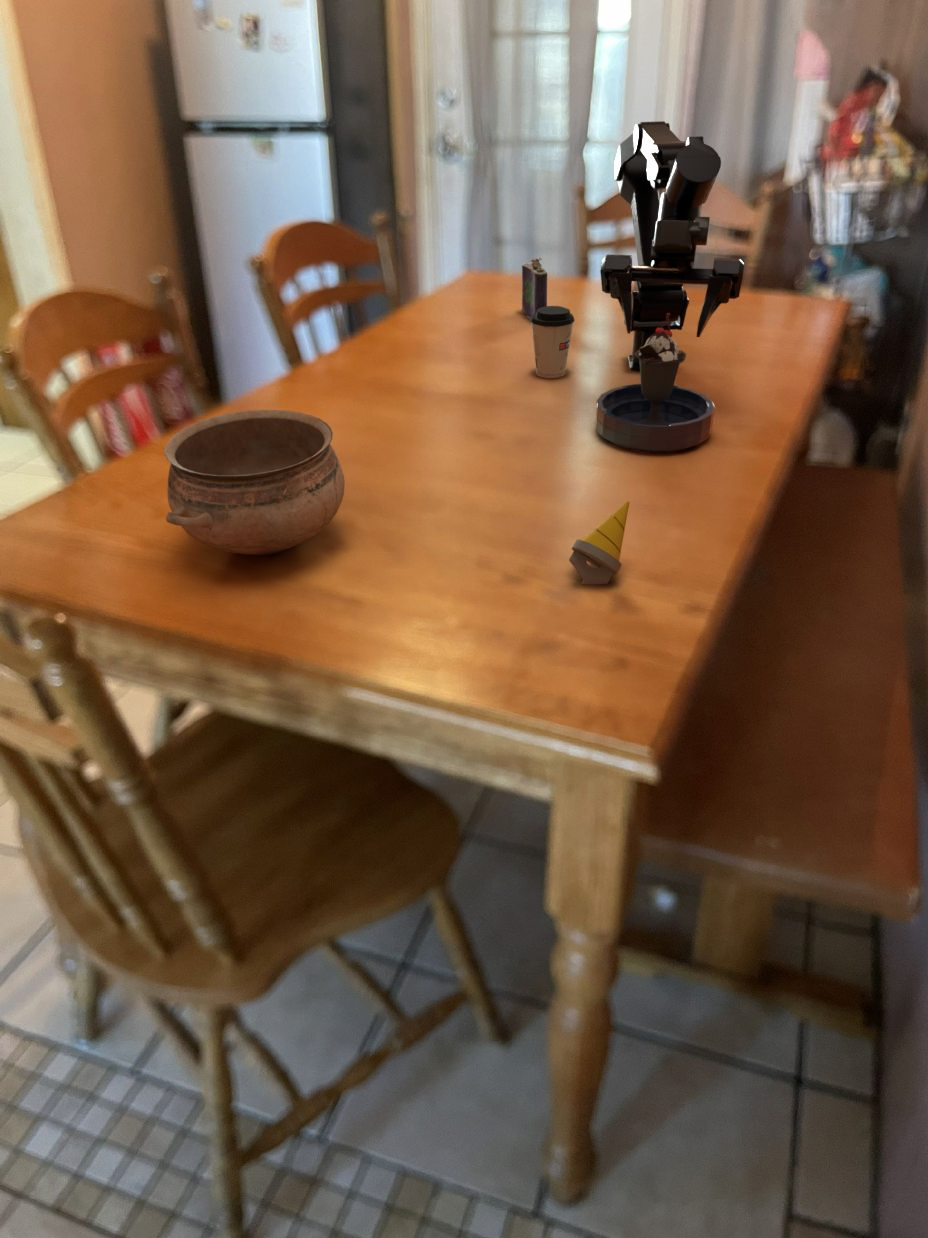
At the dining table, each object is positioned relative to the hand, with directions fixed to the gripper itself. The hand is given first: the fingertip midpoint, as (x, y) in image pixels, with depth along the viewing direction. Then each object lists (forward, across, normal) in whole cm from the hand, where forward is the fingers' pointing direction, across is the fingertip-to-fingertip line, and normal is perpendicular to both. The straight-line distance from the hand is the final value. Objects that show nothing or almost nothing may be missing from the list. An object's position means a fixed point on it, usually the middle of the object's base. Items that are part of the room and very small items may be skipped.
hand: (663, 333), depth 123 cm
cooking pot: (+40, -40, -23) cm, 61 cm away
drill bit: (+39, -2, -22) cm, 45 cm away
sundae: (+12, 0, +5) cm, 13 cm away
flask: (-24, -26, +42) cm, 55 cm away
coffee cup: (-3, -18, +20) cm, 27 cm away
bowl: (+12, 0, +5) cm, 13 cm away
